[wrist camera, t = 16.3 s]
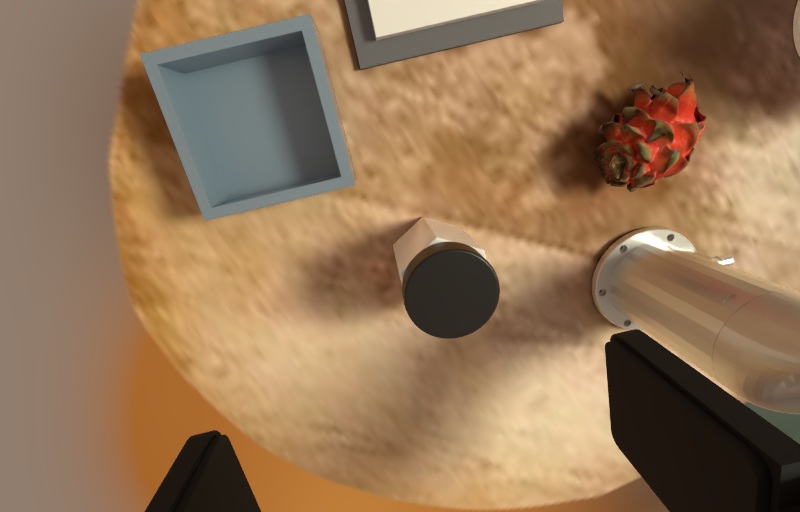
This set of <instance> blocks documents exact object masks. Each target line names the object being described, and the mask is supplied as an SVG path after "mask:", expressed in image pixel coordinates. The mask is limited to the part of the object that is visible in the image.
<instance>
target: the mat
mask: <svg viewBox="0 0 800 512" xmlns="http://www.w3.org/2000/svg"><path fill="white" fill-rule="evenodd" d="M344 1H345V5H346V9H347V14H348V18H349V22H350V27H351V31H352V35H353V39H354V44H355V48H356V52H357V57H358V61H359V65H360V69H361V70H362V69H367V68H371V67H375V66H379V65H384V64H388V63H392V62H396V61H401V60H405V59H409V58H413V57H418V56H422V55H426V54H430V53H435V52H439V51H443V50H447V49H452V48H456V47H460V46H464V45H469V44H473V43H477V42H481V41H486V40H490V39H494V38H498V37H503V36H507V35H511V34H515V33H520V32H524V31H528V30H532V29H537V28H541V27H545V26H549V25H554V24H558V23H561V22H563V21H564V18H563V6H562V0H544V1H542V2H540V3H535V4H531V5H527V6H522V7H518V8H514V9H510V10H505V11H501V12H497V13H492V14H488V15H484V16H480V17H475V18H471V19H467V20H462V21H458V22H454V23H450V24H445V25H441V26H437V27H432V28H428V29H424V30H419V31H415V32H411V33H407V34H402V35H398V36H394V37H389V38H385V39H381V40H377V41H376V38H375V33H374V29H373V24H372V19H371V15H370V10H369V5H368V1H367V0H344Z"/></svg>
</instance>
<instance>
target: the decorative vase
mask: <svg viewBox="0 0 800 512" xmlns="http://www.w3.org/2000/svg"><path fill="white" fill-rule="evenodd" d="M793 38H794V43H795V47H796V50H797V53H798V55H799V57H800V0H798V2H797V5H796V9H795V14H794V20H793Z"/></svg>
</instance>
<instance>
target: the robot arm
mask: <svg viewBox="0 0 800 512" xmlns="http://www.w3.org/2000/svg"><path fill="white" fill-rule="evenodd" d="M733 262H734V261H733V258H732V257H731V256H730V255H729V254H725V255H720V256H716V257H714V258H711V257H708V256H706V255H703V254H700V253H697V252H696V249H695V248H694V246H693V245H692V243H691V242H690V241H689V240H688V239H687V238H686V237H685V236H683V235H681V234H679V233H677V232H676V231H672V230H669V229H666V228H660V227H647V228H642V229H638V230H635V231H633V232H630V233H628V234H626V235H624V236H623V237H621V238H620V239H618V240H617V241H616V242H615V243H613V244H612V245H611V246H610V247H609V248H608V249H607V250H606V252H605V253H604V254H603V255H602V257H601V259H600V260H599V262H598V264H597V266H596V269H595V272H594V274H593V280H592V296H593V300H594V303H595V305H596V307H597V309H598V310H599V312H600V313H601V314H602V315H603V316H604V317H605V318H606V319H607V320H609V321H610V322H611V323H613V324H615V325H616V326H618V327H621V328H624V329H630V331H625V332H621V333H617V334H613V335H612V336H611V339H610V342H607V343H606V345H605V354H606V367H607V380H608V394H609V407H610V420H611V432H612V436H613V438H614V441H615V443H616V444H617V446H618V447H619V449H620V450H621V451H622V453H623V454H624V455H625V456H626V458H627V459H628V460H629V461H630V463H631V464H632V465H633V466H634V468H635V469H636V470H637V471H638V473H639V474H640V475H641V476H642V478H643V479H644V480H645V481H646V483H647V484H648V485H649V486H650V488H651V489H652V490H653V491H654V493H655V494H656V495H657V496H658V497H659V499H660V500H661V501H662V503H663V504H664V505H665V506H666V507H667V509H668V510H669V511H670V512H800V444H798V443H797V442H796V441H794V440H793V439H791V438H790V437H789V436H787V435H786V434H784V433H783V432H782V431H780V430H779V429H778V428H776V427H775V426H773V425H772V424H771V423H769V422H768V421H766V420H765V419H763V418H762V417H761V416H759V415H758V414H757V413H755V412H754V411H752V410H751V409H750V408H748V407H747V406H745V405H744V404H743V403H741V402H740V401H738V400H737V399H736V398H734V397H733V396H731V395H730V394H729V393H727V392H726V391H724V390H723V389H722V388H720V387H719V386H718V385H716V384H715V383H713V382H712V381H711V380H709V379H708V378H706V377H705V376H704V375H702V374H701V373H699V372H698V371H697V370H695V369H694V368H692V367H691V366H690V365H688V364H687V363H685V362H684V361H683V360H681V359H680V358H678V357H677V356H676V355H674V354H673V353H671V352H670V351H669V350H667V349H666V348H664V347H663V346H662V345H660V344H659V343H658V342H656V341H655V340H653V339H652V338H651V337H649V336H648V335H646V334H645V333H644V332H642V331H640V330H646V331H647V332H648V333H650V334H651V335H653V336H654V337H656V338H657V339H658V340H660V341H661V342H663V343H664V344H666V345H667V346H668V347H670V348H671V349H673V350H674V351H675V352H677V353H678V354H680V355H681V356H683V357H684V358H685V359H687V360H688V361H690V362H691V363H692V364H694V365H695V366H697V367H698V368H700V369H701V370H702V371H704V372H705V373H707V374H708V375H710V376H711V377H712V378H714V379H715V380H717V381H718V382H719V383H721V384H722V385H724V386H725V387H727V388H728V389H729V390H731V391H732V392H734V393H735V394H737V395H738V396H740V397H741V398H743V399H745V400H746V401H748V402H751V403H753V404H755V405H757V406H760V407H763V408H766V409H769V410H773V411H779V412H784V413H792V414H800V292H799V291H796V290H793V289H790V288H787V287H785V286H782V285H779V284H776V283H774V282H771V281H768V280H765V279H762V278H760V277H757V276H754V275H751V274H749V273H746V272H743V271H740V270H738V269H735V268H732V267H729V266H731V265H733ZM145 512H261V511H260V508H259V506H258V504H257V502H256V499H255V497H254V495H253V492H252V490H251V488H250V485H249V483H248V481H247V479H246V477H245V474H244V472H243V470H242V468H241V465H240V463H239V461H238V458H237V456H236V454H235V451H234V449H233V447H232V445H231V442H230V440H229V438H228V437H227V436H226V435H221V434H220V433H219V432H218V431H215V430H214V431H210V432H206V433H202V434H198V435H194V436H191V437H190V438H189V439H188V440H187V442H186V443H185V445H184V447H183V448H182V450H181V452H180V453H179V455H178V457H177V458H176V460H175V462H174V463H173V465H172V467H171V468H170V470H169V472H168V474H167V475H166V477H165V478H164V480H163V482H162V483H161V485H160V487H159V489H158V490H157V492H156V494H155V495H154V497H153V499H152V500H151V502H150V504H149V506H148V507H147V509H146V510H145Z"/></svg>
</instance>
